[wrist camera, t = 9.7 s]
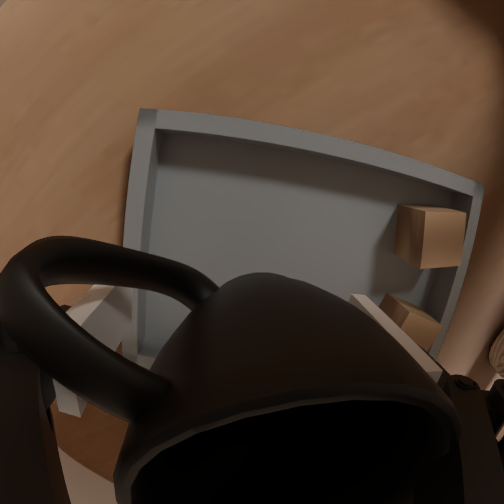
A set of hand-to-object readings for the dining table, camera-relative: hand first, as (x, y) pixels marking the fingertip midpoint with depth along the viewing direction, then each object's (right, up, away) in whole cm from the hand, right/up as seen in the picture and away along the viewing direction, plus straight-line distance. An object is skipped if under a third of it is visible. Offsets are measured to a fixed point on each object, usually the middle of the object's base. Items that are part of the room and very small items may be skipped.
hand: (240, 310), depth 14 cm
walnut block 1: (+14, +4, +10) cm, 17 cm away
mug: (0, 0, 0) cm, 1 cm away
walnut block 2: (+13, -3, +12) cm, 17 cm away
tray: (+5, +2, +10) cm, 12 cm away
